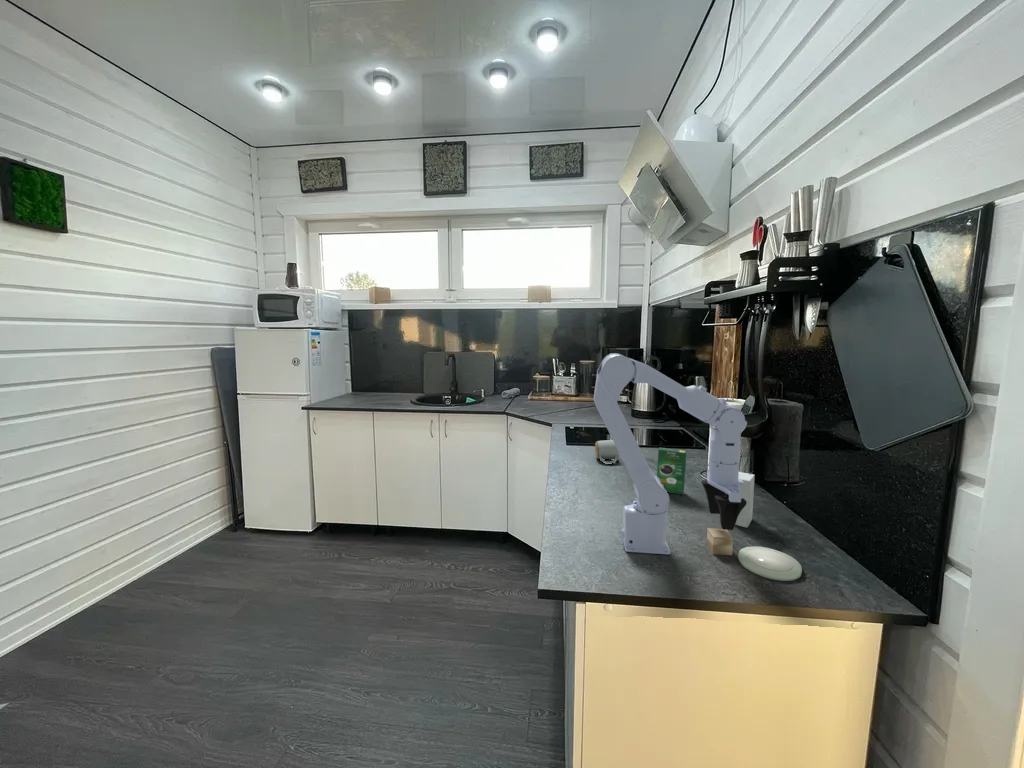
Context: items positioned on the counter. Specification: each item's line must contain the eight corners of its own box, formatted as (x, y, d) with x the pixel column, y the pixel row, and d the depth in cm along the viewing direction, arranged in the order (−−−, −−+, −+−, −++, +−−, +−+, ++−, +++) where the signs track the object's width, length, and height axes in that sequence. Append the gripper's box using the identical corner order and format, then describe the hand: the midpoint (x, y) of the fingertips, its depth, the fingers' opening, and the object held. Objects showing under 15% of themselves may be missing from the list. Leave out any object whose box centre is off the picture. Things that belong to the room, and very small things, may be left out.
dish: (751, 578, 80) (751, 572, 80) (730, 549, 91) (730, 544, 91) (813, 583, 78) (814, 577, 78) (784, 552, 89) (784, 547, 89)
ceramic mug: (594, 456, 159) (594, 437, 158) (615, 456, 159) (616, 437, 158) (598, 465, 149) (598, 445, 148) (621, 465, 148) (621, 445, 147)
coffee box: (685, 492, 123) (687, 449, 121) (684, 495, 120) (686, 452, 119) (656, 488, 126) (658, 446, 125) (655, 491, 124) (657, 449, 122)
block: (712, 554, 89) (713, 536, 88) (706, 544, 93) (707, 528, 92) (732, 555, 88) (733, 538, 88) (725, 546, 92) (726, 529, 92)
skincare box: (733, 515, 107) (736, 470, 106) (752, 519, 105) (755, 474, 103) (728, 523, 103) (731, 477, 101) (747, 528, 100) (750, 481, 99)
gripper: (759, 472, 80) (755, 538, 82) (731, 451, 95) (728, 507, 96) (720, 471, 81) (717, 536, 83) (698, 450, 96) (696, 506, 97)
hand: (721, 520), depth 90 cm, fingers open, 7 cm apart
